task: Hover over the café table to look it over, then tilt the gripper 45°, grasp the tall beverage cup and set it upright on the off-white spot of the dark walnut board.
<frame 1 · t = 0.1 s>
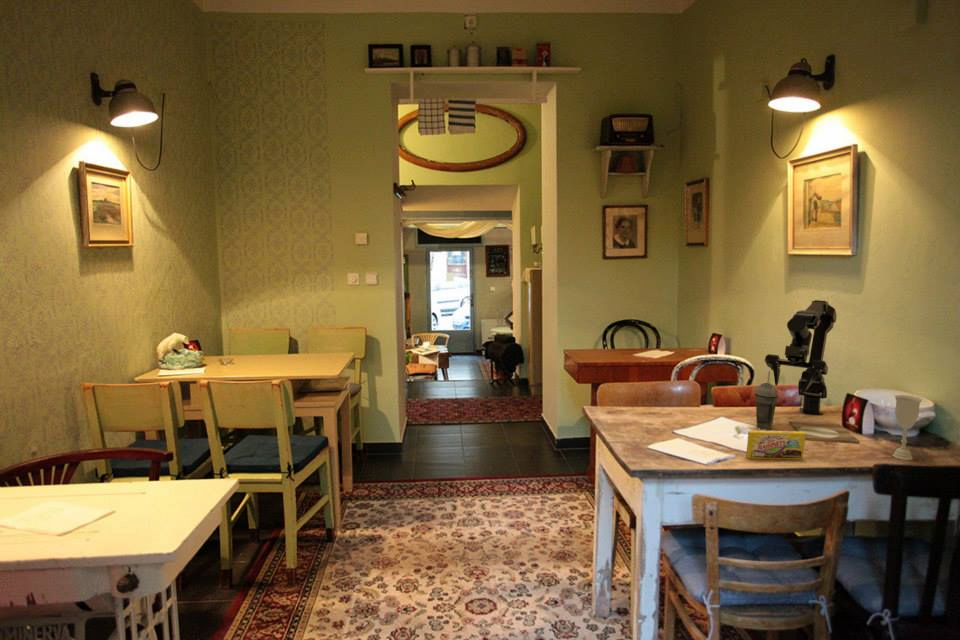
hand: (790, 387, 217), 15 cm above the table, tool tilted 35°, fingers open, 9 cm apart
chalice: (902, 457, 194), on the table
candy box: (774, 459, 192), on the table
beverage cup: (764, 428, 222), on the table
walnut board: (822, 432, 218), on the table
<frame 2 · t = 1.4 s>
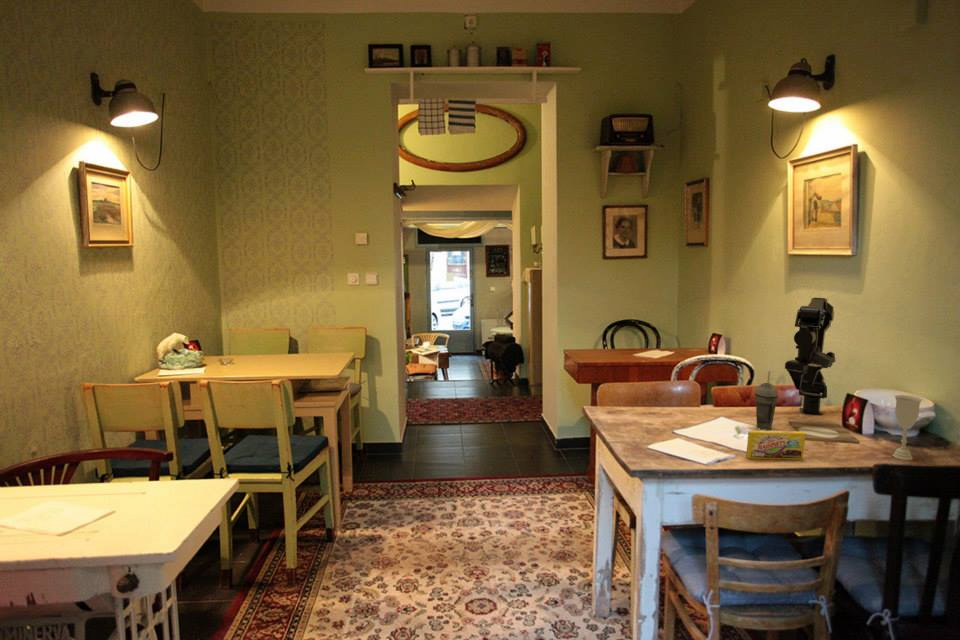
hand: (804, 387, 225), 13 cm above the table, tool pointing down, fingers open, 9 cm apart
nothing on the table moved.
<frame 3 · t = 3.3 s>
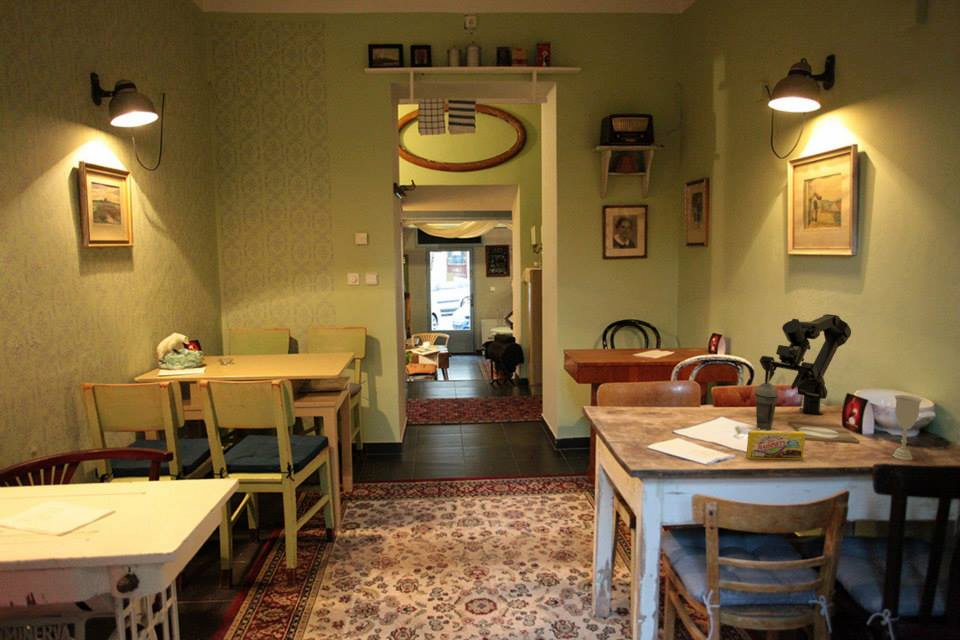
hand: (778, 385, 225), 14 cm above the table, tool tilted 45°, fingers open, 9 cm apart
nothing on the table moved.
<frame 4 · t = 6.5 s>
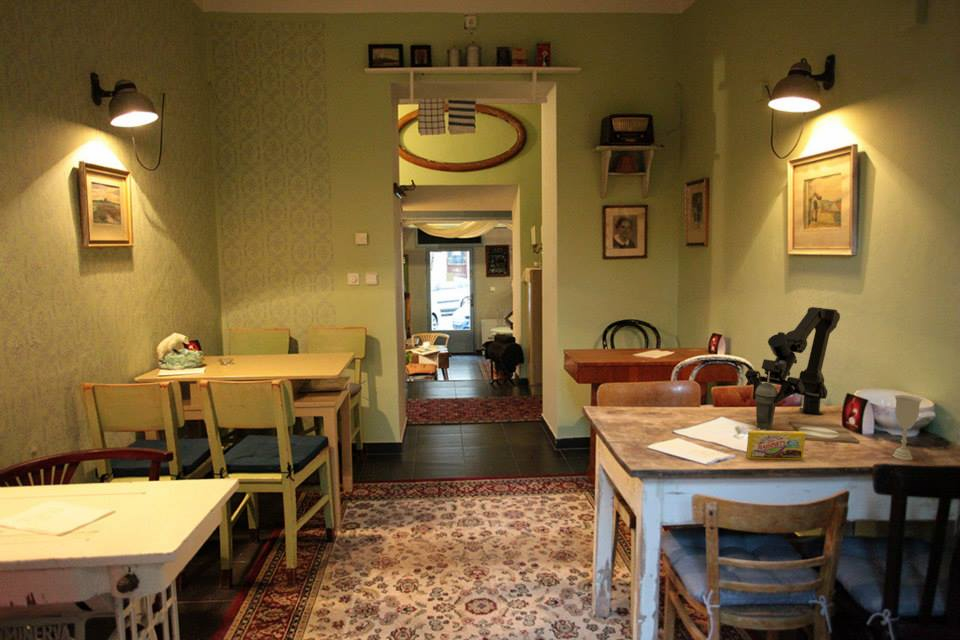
hand: (764, 401, 220), 10 cm above the table, tool tilted 45°, fingers closed on beverage cup, 7 cm apart
beverage cup: (764, 428, 222), on the table, touching gripper
everything else where it was.
when the fingers open (12 cm above the table, at t = 10.1 s): beverage cup stays where it is, resting on walnut board.
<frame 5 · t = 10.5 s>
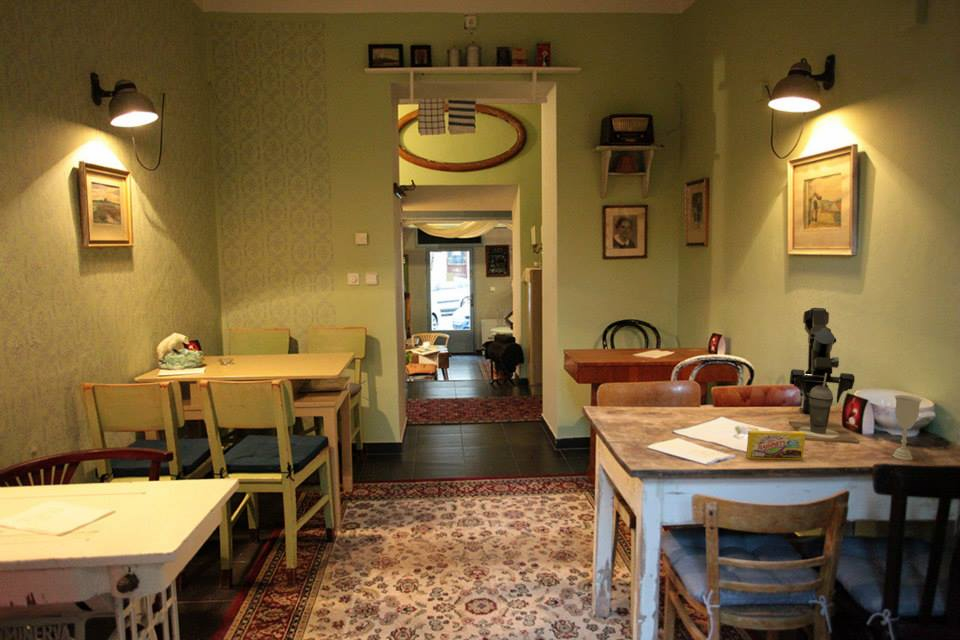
hand: (821, 400, 212), 12 cm above the table, tool tilted 45°, fingers open, 9 cm apart
beverage cup: (817, 432, 215), point 1 cm above the table, touching walnut board
everything else where it was.
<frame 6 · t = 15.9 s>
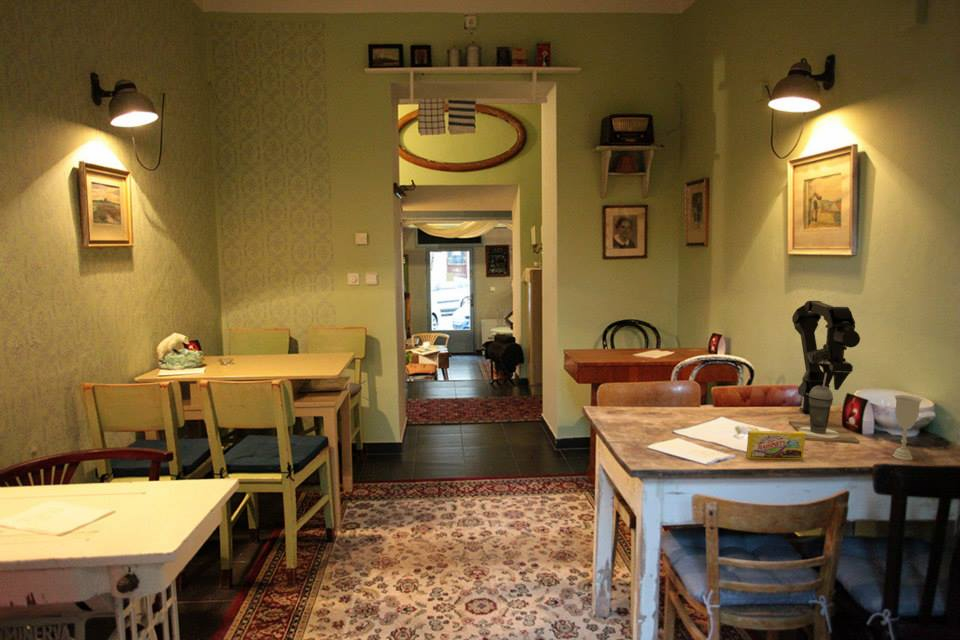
hand: (831, 386, 227), 13 cm above the table, tool pointing down, fingers open, 9 cm apart
nothing on the table moved.
at the end: beverage cup inside the target area on the walnut board (0.2 cm from its centre), point 0.8 cm above the walnut board's base; beverage cup tilted 0°; the gripper is holding nothing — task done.
